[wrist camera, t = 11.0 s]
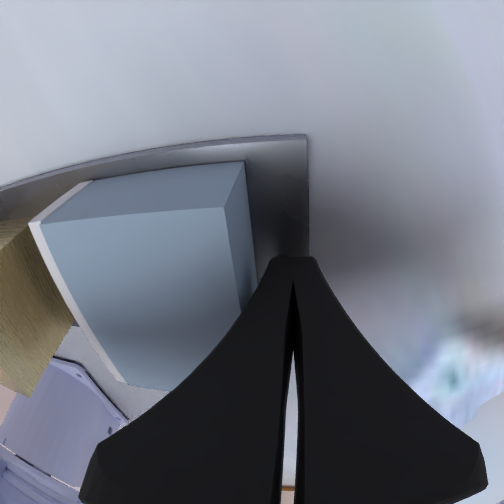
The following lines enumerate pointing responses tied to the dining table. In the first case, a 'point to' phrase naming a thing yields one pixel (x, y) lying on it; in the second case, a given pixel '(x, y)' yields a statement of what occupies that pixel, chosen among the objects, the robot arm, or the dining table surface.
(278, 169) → the vise
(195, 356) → the block
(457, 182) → the dining table surface
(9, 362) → the tan wooden block
